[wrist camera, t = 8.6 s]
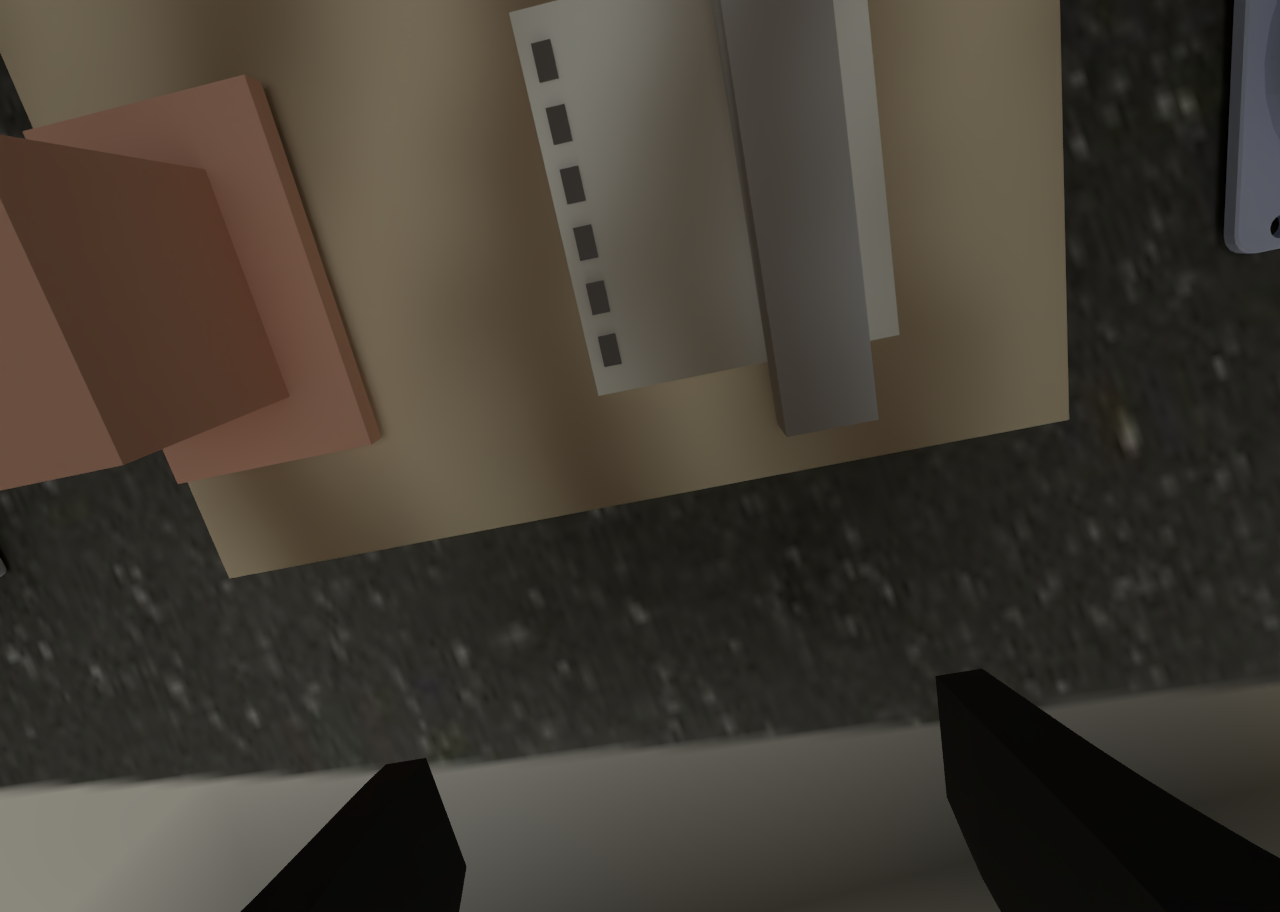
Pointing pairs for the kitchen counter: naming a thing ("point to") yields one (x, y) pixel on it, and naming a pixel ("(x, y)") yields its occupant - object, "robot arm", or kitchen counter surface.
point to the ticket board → (623, 236)
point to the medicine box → (2, 568)
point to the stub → (166, 296)
